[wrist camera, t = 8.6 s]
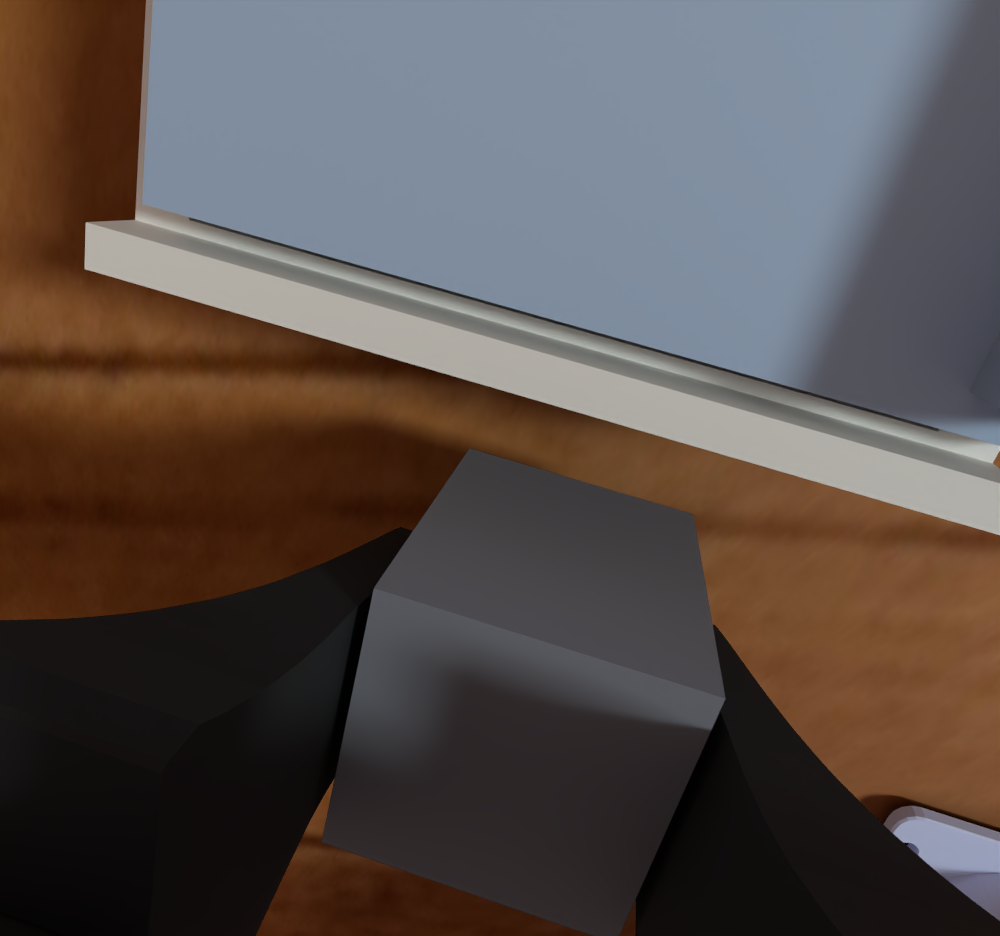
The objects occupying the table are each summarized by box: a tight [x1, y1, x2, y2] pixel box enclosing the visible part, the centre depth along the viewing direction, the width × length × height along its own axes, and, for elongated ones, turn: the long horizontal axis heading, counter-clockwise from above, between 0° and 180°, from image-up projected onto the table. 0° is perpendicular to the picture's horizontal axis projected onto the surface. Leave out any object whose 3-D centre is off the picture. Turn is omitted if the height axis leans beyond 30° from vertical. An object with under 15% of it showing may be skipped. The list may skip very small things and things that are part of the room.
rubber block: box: [322, 448, 726, 936], centre depth 11 cm, size 4×4×5 cm
